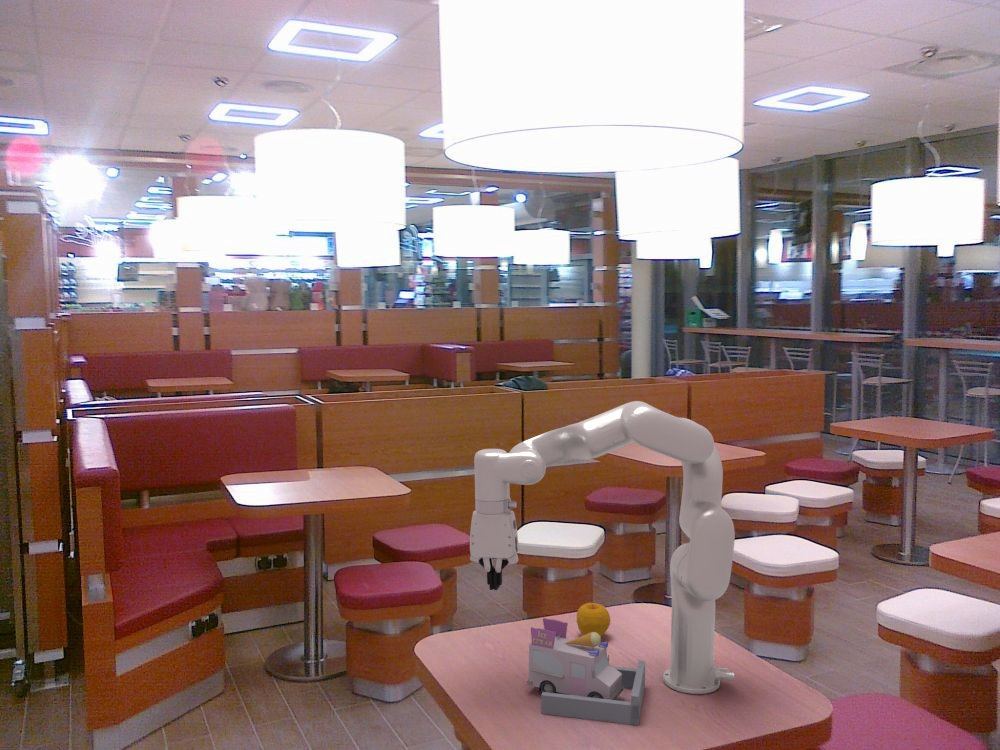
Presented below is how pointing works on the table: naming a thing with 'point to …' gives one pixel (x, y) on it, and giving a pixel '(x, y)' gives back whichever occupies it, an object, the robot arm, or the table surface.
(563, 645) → the toy vehicle
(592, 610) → the apple
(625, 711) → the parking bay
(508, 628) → the table surface
